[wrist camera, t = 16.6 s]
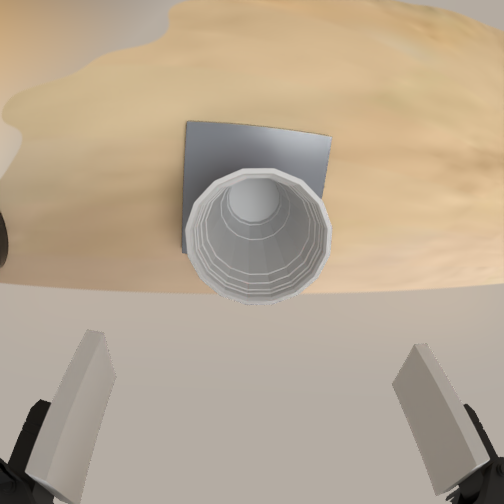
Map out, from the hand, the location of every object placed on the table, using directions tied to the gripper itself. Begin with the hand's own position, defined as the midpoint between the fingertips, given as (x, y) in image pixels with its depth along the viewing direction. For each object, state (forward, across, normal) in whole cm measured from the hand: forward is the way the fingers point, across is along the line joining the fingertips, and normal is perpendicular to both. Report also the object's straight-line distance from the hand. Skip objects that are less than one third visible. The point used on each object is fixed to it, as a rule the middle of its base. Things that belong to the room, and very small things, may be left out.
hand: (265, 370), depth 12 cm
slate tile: (+25, 0, 0) cm, 25 cm away
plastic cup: (+24, 0, 0) cm, 24 cm away
